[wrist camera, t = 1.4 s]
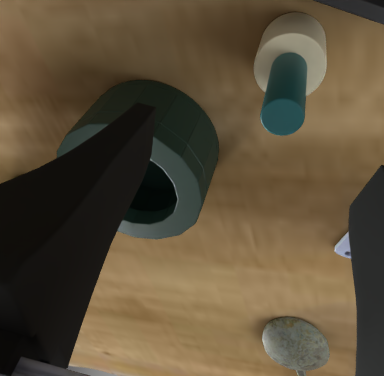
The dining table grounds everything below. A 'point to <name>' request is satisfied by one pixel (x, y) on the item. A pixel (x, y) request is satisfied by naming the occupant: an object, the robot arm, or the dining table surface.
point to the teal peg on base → (289, 69)
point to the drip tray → (360, 8)
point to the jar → (159, 156)
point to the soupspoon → (295, 344)
